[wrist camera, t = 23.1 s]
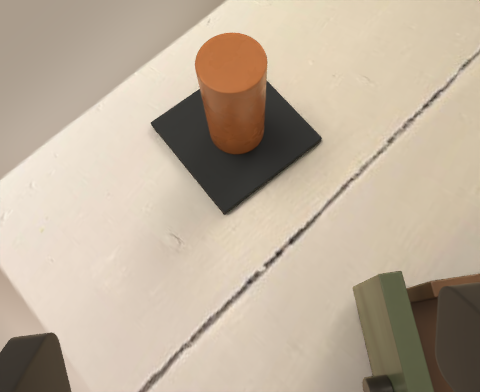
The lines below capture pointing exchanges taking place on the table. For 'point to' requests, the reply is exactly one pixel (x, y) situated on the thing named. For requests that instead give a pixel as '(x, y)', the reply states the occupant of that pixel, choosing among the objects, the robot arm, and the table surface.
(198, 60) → the spice tin
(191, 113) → the mat
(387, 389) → the drawer
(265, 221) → the table surface
